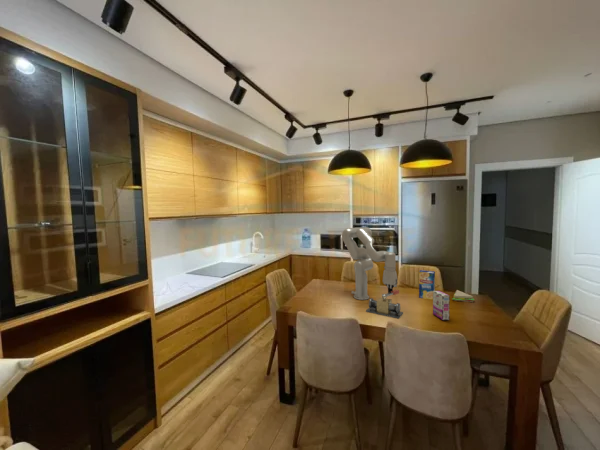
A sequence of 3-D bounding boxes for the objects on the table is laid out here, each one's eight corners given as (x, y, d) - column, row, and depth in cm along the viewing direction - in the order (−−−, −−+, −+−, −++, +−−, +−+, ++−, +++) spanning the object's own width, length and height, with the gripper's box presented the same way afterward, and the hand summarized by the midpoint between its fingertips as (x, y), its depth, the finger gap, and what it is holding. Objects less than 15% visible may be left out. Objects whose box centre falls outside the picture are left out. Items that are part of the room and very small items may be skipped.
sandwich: (471, 297, 214) (471, 291, 214) (475, 304, 197) (475, 298, 197) (450, 294, 221) (450, 289, 221) (451, 301, 204) (451, 295, 204)
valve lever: (384, 298, 182) (384, 295, 182) (380, 297, 184) (380, 294, 184) (399, 293, 192) (399, 290, 192) (395, 292, 195) (395, 289, 195)
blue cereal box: (433, 300, 207) (434, 273, 206) (418, 298, 213) (418, 271, 212) (434, 298, 213) (435, 271, 212) (420, 295, 219) (420, 270, 218)
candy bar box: (449, 320, 170) (450, 295, 169) (442, 320, 169) (442, 295, 168) (439, 313, 181) (439, 290, 180) (432, 313, 180) (432, 290, 180)
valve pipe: (365, 311, 187) (365, 297, 186) (371, 306, 196) (371, 293, 195) (398, 318, 173) (398, 303, 173) (403, 313, 182) (403, 298, 182)
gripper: (378, 268, 197) (378, 291, 198) (395, 271, 185) (396, 296, 186) (384, 266, 201) (385, 289, 202) (402, 269, 189) (402, 294, 190)
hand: (390, 293), depth 194 cm, fingers closed
